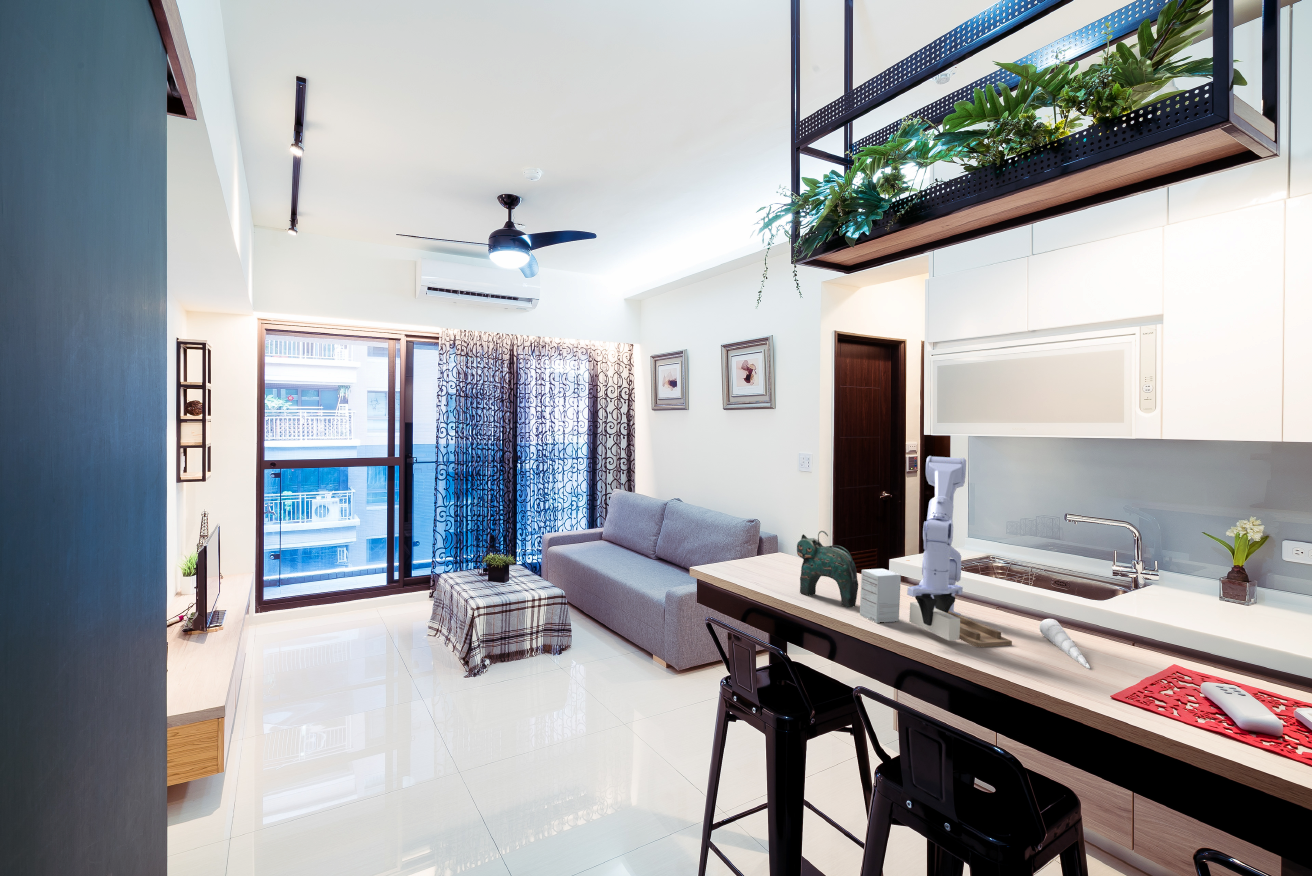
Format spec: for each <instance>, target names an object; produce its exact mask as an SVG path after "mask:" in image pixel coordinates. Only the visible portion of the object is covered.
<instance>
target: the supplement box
mask: <svg viewBox="0 0 1312 876" xmlns="http://www.w3.org/2000/svg"><path fill="white" fill-rule="evenodd" d="M860 577H861V578H860V580H861V581H860V602H859V603H860V604H859V616H861V617H862V616H863V617H862V618H864V619H867V618H868V619H867V620H869V619H870V620H869V621H871V620H872V621H871V622H873V621H874V622H873V623H875V622H876V624H880V622H884V623H892V622H895V621H896V622H899V621H900V607H901V605H900V604H901V599H900V598H901V583H902V582H901V579H902V578H901V577H902V575H901V574H899V573H898V572H895V571H892V570H889V569H885V568H871V569H870V568H869V569H861V576H860Z"/></svg>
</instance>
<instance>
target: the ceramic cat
mask: <svg viewBox="0 0 1312 876" xmlns="http://www.w3.org/2000/svg"><path fill="white" fill-rule="evenodd" d="M821 533H824V534H825V536H827V537H829V535H828V533H827V532H826V531H825V530H820V531H819V532H818V534H817V538H815V537H811V538H810V537H807V536H806V535H805V534H802V535H801V538H800V540H799V541H798V542H797V544H796V553H797V556H798V557H799V558H801V559H802V562H801V563H802V564H801V570H800V578H799V583H800V584H799V586H800V587H799V594H800V593H801V595H804V596H813V594H814V595H816V592H817V591H816V587H817V583H818V581H819V580H820V578H821V577H827V578H830V579H832V580H834V581H835V583H836V584H837V586H838V588H839V589H838V590H839V594H840V599H841V606H842V605H843V606H842V607H846V608H853V606H854V607H855V606H856V604H857V599H858V598H857V597H858V590H859V580H858V572H857V567H856V564H855V562H854V560H853V557H852V554H850V552H849V550H848V549H846V548H845V547H843V546H841V545H837V544H832V545H825V546H824V545H823V544H822V543H821V541H820V534H821Z"/></svg>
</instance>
